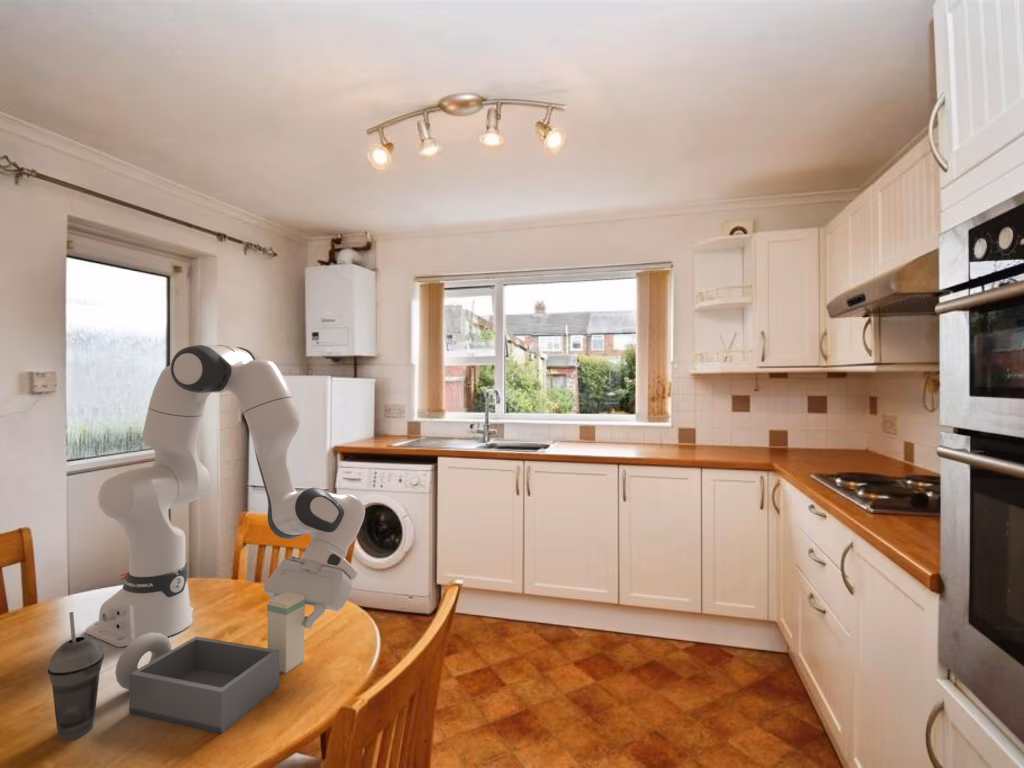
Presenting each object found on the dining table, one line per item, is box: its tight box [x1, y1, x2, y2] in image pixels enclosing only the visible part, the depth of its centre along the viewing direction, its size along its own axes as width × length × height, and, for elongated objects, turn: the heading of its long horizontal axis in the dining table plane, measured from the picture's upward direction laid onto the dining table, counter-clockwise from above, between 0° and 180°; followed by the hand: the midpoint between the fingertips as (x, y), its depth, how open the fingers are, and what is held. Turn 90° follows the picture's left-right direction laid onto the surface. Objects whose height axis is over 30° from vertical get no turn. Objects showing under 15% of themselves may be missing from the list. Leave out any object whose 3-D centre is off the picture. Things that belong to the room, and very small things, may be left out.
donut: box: [114, 632, 173, 690], centre depth 99 cm, size 10×4×10 cm, turn 159°
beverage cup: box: [47, 611, 105, 741], centre depth 86 cm, size 7×7×20 cm
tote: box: [128, 636, 280, 734], centre depth 95 cm, size 20×14×7 cm
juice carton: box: [266, 591, 306, 674], centre depth 107 cm, size 5×5×14 cm
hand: (287, 622), depth 108 cm, fingers open, 8 cm apart
